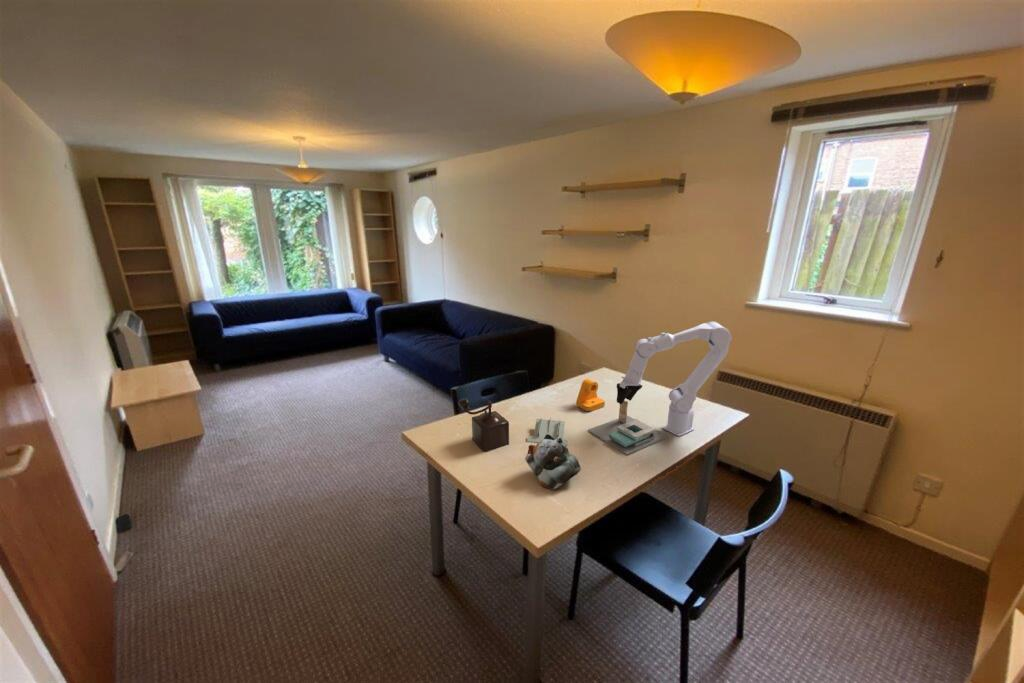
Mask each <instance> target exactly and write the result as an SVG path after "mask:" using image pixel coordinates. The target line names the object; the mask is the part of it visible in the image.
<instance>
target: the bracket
mask: <svg viewBox="0 0 1024 683" xmlns="http://www.w3.org/2000/svg"><path fill="white" fill-rule="evenodd" d="M598 389H599V384H598V382H596V381H595V380H592V379H590V378H585V379H583V381H582V383H581V385H580V389H579V392H578V395H577V398H576V402H575V406H577V407H579V408H580V409H582V410H585V411H586V412H587V411H588V412H589V411H590V412H594V411H597V410H600V409H602V407H604V406H605V402H606V400H604V399H602V398H600V397H599V396H598V394H597V391H598Z"/></svg>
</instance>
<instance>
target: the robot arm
mask: <svg viewBox="0 0 1024 683" xmlns="http://www.w3.org/2000/svg"><path fill="white" fill-rule="evenodd" d="M695 339H701V340H703V341H705V342H706V341H707V342H708V346H709V351H708V352H707V353H706V355H704V357H703V359H702V360H701V361H700V362H699V363H698V365H697V366H696V367H695V368H694V370H693V371H692V372H691V373H690V375H689V376H688V377H687V379H686V380H685V381H684V382H681V383H680V384H678V385H677V386H676V387H675V388H673V389H671V391H670V392H669V394H668V398H669V401H670V404H669V406H668V412H667V421H666V422H667V424H664V425H663V426H661V428H662V429H663V430H665V431H667V432H670V433H671V434H674V435H675V436H677V437H681V436H683V435H686V434H688V433H689V432H692V431H694V430H695V428H694V427H693V423H694V416H695V414H694V410H693V404H694V402H695V401H696V399H697V392H698V391H699V390H700V389H701V387H702V386H703V385H704V384H705V382H706V381H707V380H708V379H709V377H710V376H711V375H712V374H713V372H714V371H715V370H716V369H717V368H718V366H719V365H720V364H721V363H722V361H723V360H724V359H725V358H726V357H727V355H728V354H729V350H730V349H729V347H730V343H731V341H732V340H733V338H732V335H731V332H730V330H729V329H728V328H727V327H724V325H723V326H722V325H721V324H720V323H719V322H718V321H717V322H716V321H713V320H712V321H709V322H706V323H705V322H704V323H701V324H699V325H696V326H694V327H691V328H689V329H685V330H683V331H680V332H677V333H674V334H671V333H669V332H667V333H666V332H661V333H660V335H656V336H652V337H651V336H649V337H647V338H641V339H639V340H638V341H637V342H636V343H635V344H634V348H635V351H634V353H633V355H632V357H631V360H630V362H629V364H628V368H627V371H626V373H625V375H621V379H622V380H621V381H620V382H618V383H617V384H616V391H617V394H616V403H618V404H619V405H620V404H622V403H623V402H624V400H627V401H628V402H629V401H632V399H633V398H634V397H635V395H636V394H637V393H638V392H639V391H640V390H641V389H642V388H643V385H642V383H641V382H642V380H643V375H644V372H645V370H646V367H647V365H648V361H649V359H650V358H651V357H653V356H654V355H655V354H656V353H658V352H659V353H660V352H663V351H667V350H670V349H673V348H674V347H675V345H676V344H679V343H684V342H687V341H693V340H695Z"/></svg>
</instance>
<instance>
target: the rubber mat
mask: <svg viewBox="0 0 1024 683" xmlns="http://www.w3.org/2000/svg"><path fill="white" fill-rule="evenodd" d="M633 420H636V419H635V418H633V417H631V416H629V415H627V419H626V423H628V422H631V421H633ZM618 421H619V417H618V418H615V419H613V420H610V421H607V422H604V423H603V424H600V425H596V426H594V427H591V428H588V429H587V432H588V433H590V434H592V435H593V436H595V437H597V438H598V439H600V440H601V441H603V442H604V443H606V444H608V445H609V446H611V447H613V448H615V449H616V450H617V451H619V452H621V453H622V454H624V455H626V456H630V455H632V454H635V453H636V452H638V451H639V452H640V451H641V450H643V449H646V448H648V447H650V446H652V445H655V444H657V443H659V442H661V441H663V440H666V439H668V438H669V435H667V434H664V433H663V432H661V431H659V430H656V431H655V439H653V440H651V441H649V442H646V443H644V444H642V445H639V446H637V447H633V446H632V445H629V446H627V447H625V446H623V445H621V444H620V443H618V442H616V441H614V440H613V439H611V438H609V434H611V433H613V432H616V431H618V430H617V427H618V426H620V425H623V424H621V423H619V422H618ZM626 423H625V424H626Z"/></svg>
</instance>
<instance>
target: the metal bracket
mask: <svg viewBox="0 0 1024 683" xmlns="http://www.w3.org/2000/svg"><path fill="white" fill-rule="evenodd" d="M549 418H550V419H545V418H544V419H543V418H536V420H535V425H534V426H535V427H534V431H533V435H528V436H527V439H526V442H527V443H529V444H538V443H539V442H540V441H541V440H543V439H544V437H545V436H546V434H549V435H550V436H552V437H553V438H554V439H556V438H558V437H561V438H562V441H563V443H564V444H565V445H566V447H569V439H567V438H565V439H564V434H565V432H564V431H565V426H566V425H565V424H566V423H565V422H566V421H565V420H561V419H559V420H556V419H555V420H553V419H552V416H551V417H549Z"/></svg>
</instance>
